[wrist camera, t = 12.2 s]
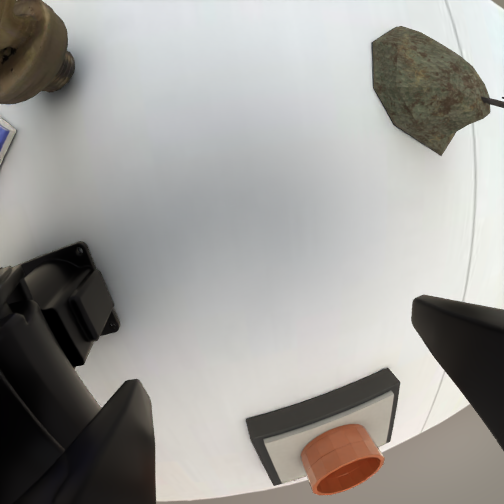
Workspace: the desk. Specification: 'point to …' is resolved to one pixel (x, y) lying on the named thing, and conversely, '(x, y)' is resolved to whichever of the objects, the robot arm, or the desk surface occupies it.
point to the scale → (323, 422)
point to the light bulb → (32, 50)
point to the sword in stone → (427, 87)
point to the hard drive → (5, 137)
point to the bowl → (341, 459)
